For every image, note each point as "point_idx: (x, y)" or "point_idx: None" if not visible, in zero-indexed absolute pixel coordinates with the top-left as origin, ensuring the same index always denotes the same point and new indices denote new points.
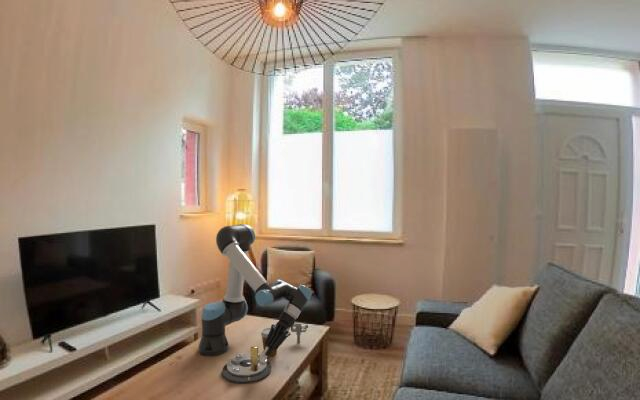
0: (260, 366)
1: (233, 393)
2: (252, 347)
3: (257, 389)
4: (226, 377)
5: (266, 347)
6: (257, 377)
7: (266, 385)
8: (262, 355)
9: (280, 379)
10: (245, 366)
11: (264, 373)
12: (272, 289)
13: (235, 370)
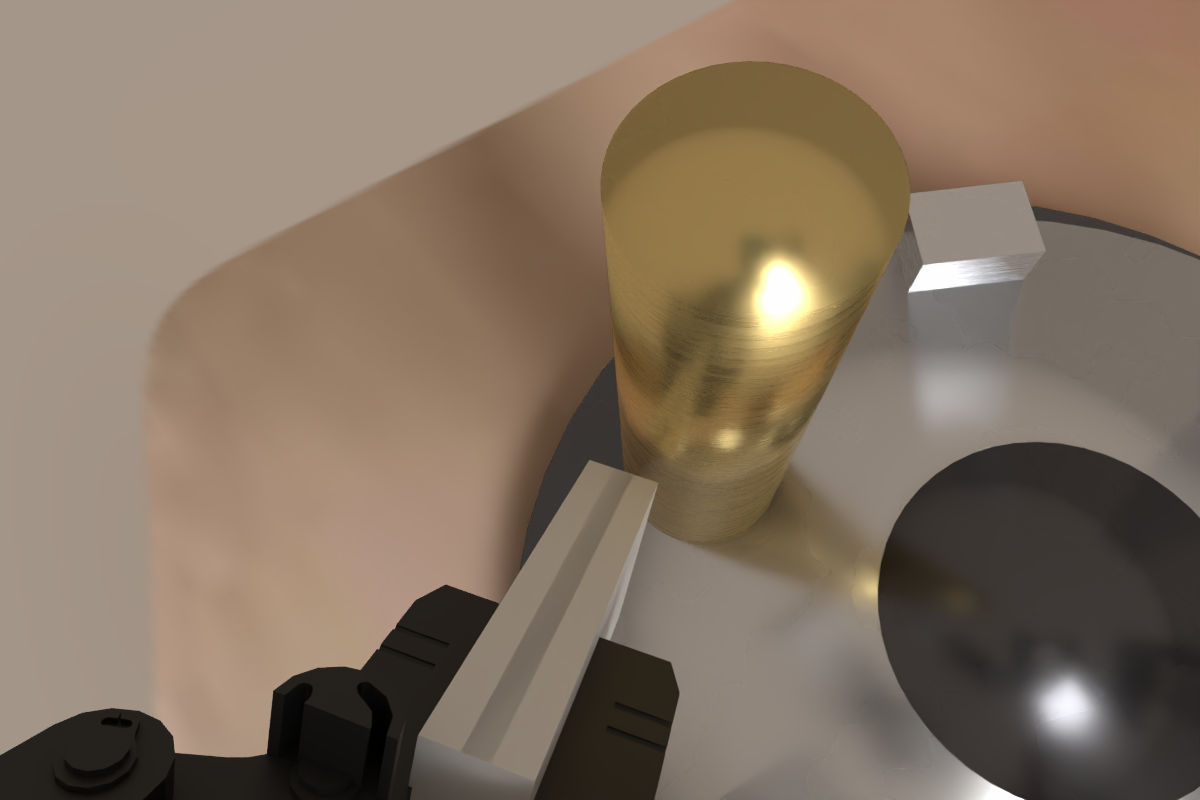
0: (686, 658)
1: (648, 66)
2: (830, 149)
3: (424, 283)
4: (1035, 217)
5: (518, 743)
6: (572, 445)
7: (363, 434)
8: (561, 533)
9: (240, 726)
10: (950, 463)
11: None
12: None
13: (942, 199)
